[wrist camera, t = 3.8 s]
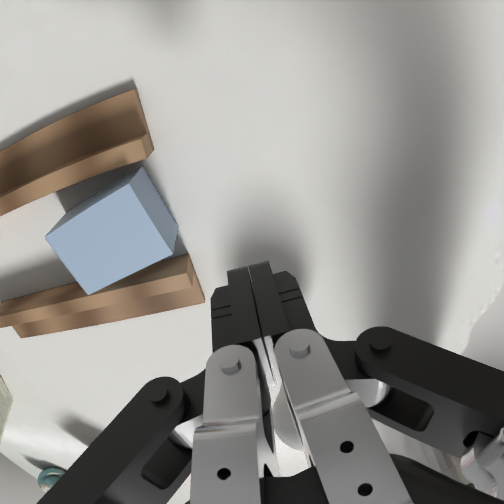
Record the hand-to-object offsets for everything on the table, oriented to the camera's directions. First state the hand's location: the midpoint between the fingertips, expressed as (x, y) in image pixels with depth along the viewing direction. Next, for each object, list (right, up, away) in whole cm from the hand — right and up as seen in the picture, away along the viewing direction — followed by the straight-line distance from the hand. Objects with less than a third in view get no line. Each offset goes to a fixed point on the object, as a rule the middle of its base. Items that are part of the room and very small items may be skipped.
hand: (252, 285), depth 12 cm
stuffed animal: (-39, -45, +34) cm, 69 cm away
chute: (-15, +2, +10) cm, 18 cm away
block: (-9, +4, +10) cm, 14 cm away
